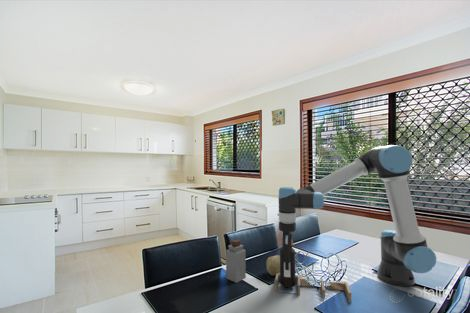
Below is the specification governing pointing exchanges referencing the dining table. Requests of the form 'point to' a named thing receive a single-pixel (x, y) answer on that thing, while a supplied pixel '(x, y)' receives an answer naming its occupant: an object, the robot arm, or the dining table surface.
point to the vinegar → (290, 280)
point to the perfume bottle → (235, 262)
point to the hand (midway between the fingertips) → (287, 273)
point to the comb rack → (302, 281)
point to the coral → (273, 265)
